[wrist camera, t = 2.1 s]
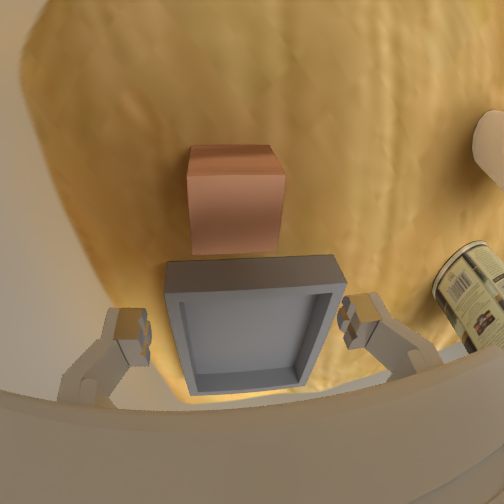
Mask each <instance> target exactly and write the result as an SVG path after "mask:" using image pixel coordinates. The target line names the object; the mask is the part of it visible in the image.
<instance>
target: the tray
mask: <svg viewBox="0 0 504 504" xmlns="http://www.w3.org/2000/svg"><path fill="white" fill-rule="evenodd" d="M346 285H347V281H346V279H345V277H344V275H343V273H342V271H341V269H340V267H339V265H338V263H337V261H336V259H335V257H334V255H315V256H294V257H272V258H249V259H226V260H202V261H177V262H167V268H166V276H165V285H164V298H165V302H166V307H167V311H168V315H169V319H170V324H171V328H172V332H173V336H174V340H175V344H176V347H177V351H178V355H179V359H180V362H181V366H182V369H183V373H184V376H185V380H186V383H187V387H188V390H189V393H190V396H199V395H221V394H236V393H248V392H259V391H268V390H277V389H285V388H292V387H299V386H305V385H306V383H307V380H308V378H309V376H310V374H311V372H312V369H313V367H314V365H315V363H316V360H317V358H318V356H319V353H320V351H321V349H322V346H323V344H324V342H325V339H326V337H327V334H328V332H329V329H330V327H331V324H332V322H333V319H334V317H335V314H336V312H337V309H338V307H339V304H340V301H341V299H342V296H343V293H344V291H345V288H346Z"/></svg>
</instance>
